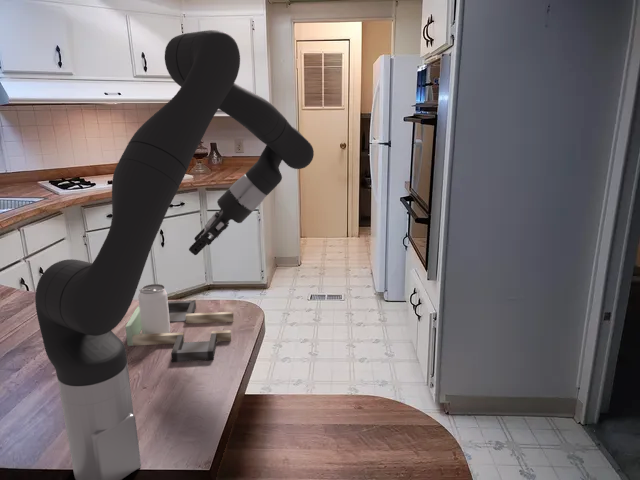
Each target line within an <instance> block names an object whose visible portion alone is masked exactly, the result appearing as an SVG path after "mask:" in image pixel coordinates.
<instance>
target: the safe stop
mask: <svg viewBox="0 0 640 480" xmlns="http://www.w3.org/2000/svg"><path fill="white" fill-rule="evenodd" d="M141 331H142V325H141V316H140V308H139V305H137V306H136V309H135V310H134V312H133V313H132V315H131V316H130V318H129V319H128V322H127V323H126V324H125V333H126V343H127V344H129V345H127V346H128V347H133V341H132V336H133V335H137V334H141V333H142V332H141ZM127 337H128V338H127ZM130 337H131V341H130V342H131V343H129V340H128V341H127V339H130ZM130 344H131V345H130Z"/></svg>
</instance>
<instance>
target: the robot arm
mask: <svg viewBox="0 0 640 480" xmlns="http://www.w3.org/2000/svg"><path fill="white" fill-rule="evenodd" d="M240 54H241V53H240V48H239V46H238V43H237V41H236V40H235V39H234V38H233V36H231V35H230V34H229V33H228V32H225V31H223V30H222V31H221V30H218V29H217V30H216V29H214V30H213V29H207V30H200V31H194V32H192V31H191V32H187V33H183V34H182V33H181V34H179V35H176V36H174V37H172V38H171V39H170V40H169V42H168V43H167V44H166V46H165V50H164V64H165V67H166V70H167V72H168V75H169V76H170V78H171V79H172V80H173V81H174V82H175V83H176V84H177V85H178V86H180V88H179V90H178V91H177V93H176V94H175V95H173V97H172V98H170V100H169V101H168V102H167V103H165V104H164V106H162V107H161V108H160V109H159V110H158V111H156V112H155V113H154V114H153V115H151V116H150V117H149V119H147V120H146V121H145V122H143V124H142V125H141V126H140V127H139V128H138V129H137V130H136V132H135V133H134V134H133V135H132V137H131V138H130V140H129V141H128V143H127V145H126V146H125V148H124V150H123V153H122V154H121V157H120V158H119V160H118V162H117V164H116V166H115V169H114V171H113V175H112V183H111V210H112V211H111V222H110V227H109V230H108V233H107V235H106V238H105V240H104V241H103V244H102V246H101V248H100V250H99V252H98V253H97V256H96V257H95V258H94V260H93V261H92V262H88V261H85V260H81V259H73V258H72V259H71V258H70V259H64V260H59V261H57V262H55V263H53V264H52V265H50V266H48V267H47V269H45V271H44V272H43V273H42V275H41V276H40V277H39V280H38V282H37V284H36V289H35V293H34V294H35V298H34V302H35V310H36V311H35V312H36V315H37V320H38V325H39V329H40V333H41V338H42V343H43V347H44V350H45V353H46V356H47V358H48V360H49V361H50V363H51V365H52V366H53V368H54V369H55V375H56V378H57V383H58V390H59V397H60V401H61V408H62V413H63V418H64V419H63V420H64V424H65V430H66V436H67V441H68V448H69V454H70V458H71V465H72V470H73V475H74V476H73V477H74V479H75V480H123V479H124V478H126V477H127V476H129V475H130V474H131V473H134V472H135V471H137V470H138V469H139V468H141V467H142V462H141V455H140V454H141V453H140V447H139V446H140V445H139V439H138V430H137V429H138V428H137V420H136V415H135V413H134V406H133V405H134V404H133V398H132V397H133V396H132V390H131V381H130V372H129V365H128V364H129V363H128V355H127V349H126V345H125V344H124V343H123V341H122V340H121V339H120V338H119V336H117V335H116V334H115V333H114V332H113V330H114V329H115V328H116V327H117V326H118V325H119V324H120V323H121V322H122V320H123V319H124V317H126V314H127V313H128V311H129V309H130V307H131V305H132V302H133V300H134V298H135V294H136V292H137V289H138V285H139V283H140V281H141V278H142V276H143V272H144V269H145V266H146V263H147V260H148V257H149V254H150V252H151V250H152V247H153V245H154V242H155V240H156V237H157V235H158V232H159V231H160V228H161V226H162V225H163V224H162V223H163V222H164V219H165V217H166V215H167V212H168V210H169V207H170V206H171V204H172V202H173V200H174V198H175V196H176V194H177V192H178V190H179V189H180V186H181V184H182V182H183V180H184V178H185V176H186V174H187V171H188V169H189V167H190V164H191V162H192V160H193V157H194V156H195V153H196V151H197V149H198V147H199V145H200V144H201V141H202V140H203V138H204V136H205V134H206V132H207V130H208V127H209V126H210V124H211V122H212V120H213V118H214V116H216V114H217V112H218V110H219V111H221V112H223V113H224V114H225V115H228V116H229V117H231V118H232V119H234V120H235V121H236V122H238V123H239V124H240V125H242V126H243V127H244V128H246V130H248V131H249V133H251V134H252V135H254V136H255V137H256V138H257V139H258V140H259V141H260V142H261V143H262V144H265V145H266V146H265V147H264V149H263V151H262V152H261V154H260V156H259V157H258V159H257V161H256V162H255V163H254V164H253V165H252V166H251V167H250V168H249V169H248V170H247V172H245V174H243V175H242V176H241V177H240V178H238V179H237V180H236V181H235V182H233V184H232V185H231V186H230V187H229V188H228V189H227V190H226V191H225V192H224V193H222V195H221V196H220V197H219V198H218V199H217V206H218V207H219V208H220V209H219V211H216V212H215V213H213V214H212V216H211V217H210V218H209V219H208V221H207V222H206V224H205V225H204V227H203V228H202V229H201V230H200V232H198V234H196V236H195V237H194V241H195V242H193V244H192V245H191V246H189V248H188V251H189V252H190V253H192V255H194V256H197V255H198V254H199V253H200V252H201V251H202V250H204V248H205V247H206V246H210V245H211V244H212V243H213V242H214V241H215V240H216V238H218V237H219V236H220V235H221V234H222V233H223V231H225V230H227V228H228V227H229V224H230V221H231V220H232V221H233V222H235V223H237V224H242V223H243V221H245V220H246V219H247V217H249V216H250V215H251V214H252V213H253V212H254V211H255V210H256V208H258V207H259V206H260V204H262V202H263V201H264V200H265V199H266V197H267V196H268V195H269V194H270V193H271V192H272V191H273V190H274V189H275V188H276V187H277V186H278V185H279V184H280V183H281V182H282V178H283V175H282V173H281V171H280V165H281V164H282V161H283V162H284V163H285V164H286V165H287V167H290V168H291V169H294V170H302V169H304V168H306V167H308V166H309V165H310V164H311V163H312V161H313V159H314V155H315V154H314V148H313V145H312V144H311V143H310V142H309V140H308V139H307V138H305V137H304V136H303V134H302V133H301V132H299V131H298V129H297V128H295V127H293V126H292V125H291V123H289V121H288V120H287V119H286V117H285V116H284V115H283V114H282V113H281V112H280V111H279V110H278V108H276V107H275V106H274V105H273V104H272V103H271V102H269V101H268V100H267V99H265V98H264V97H262V96H261V95H259V94H256V93H255V92H252V91H251V90H248V89H246V88H244V87H242V86H241V85H239V84H237V83H235V82H236V80H237V78H238V74H239V71H240V66H241V55H240ZM209 237H210V238H209Z"/></svg>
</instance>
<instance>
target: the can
mask: <svg viewBox="0 0 640 480" xmlns="http://www.w3.org/2000/svg"><path fill="white" fill-rule="evenodd" d="M138 306H139V308H140V316H141V325H142V330H141V331H142V332H141V334H159V333H171V322H170V320H169V309H168V293H167V290H166V289H165V285H163V284H160V283H158V284H157V283H152V284H146V285H143V286H141V287H140V289H139V293H138Z"/></svg>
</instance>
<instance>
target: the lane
mask: <svg viewBox="0 0 640 480" xmlns="http://www.w3.org/2000/svg"><path fill="white" fill-rule="evenodd" d="M196 308H197V303H196V300H173V301H172V300H171V301H170V300H169V301H168V309H169V320H170V323H179V322H185V323H186V324H205V323H207V324H208V323H209V324H210V323H225V322H227V323H228V322H229V323H230V322H234V320H235V319H234V318H235V317H234V316H235V315H234V311H222V312H221V311H220V312H219V311H218V312H195V311H196V310H197V309H196ZM127 338H128V337H127V336H126V342H127V341H128V340H129V343H131V342H130V341H131V337H130V339H127ZM132 341H133V346H150V345H151V346H152V345H153V346H155V345H173V344H174V345H173V347H172V350H171V354H170V355H171V362H172V363H182V362H184V363H185V362H198V361H201V362H203V361H214V359H215V354H216V349H217V342H231V341H232V330H231V329H230V330H229V329H228V330H212V331H211V333H210V339H209V340H207V341H206V340H205V341H204V340H203V341H186V342H185V332H170V333H159V334H143V333H139V334H137V335H133V336H132ZM128 345H129V344H127V346H128ZM130 345H131V344H130ZM133 346H132V347H133Z"/></svg>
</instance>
